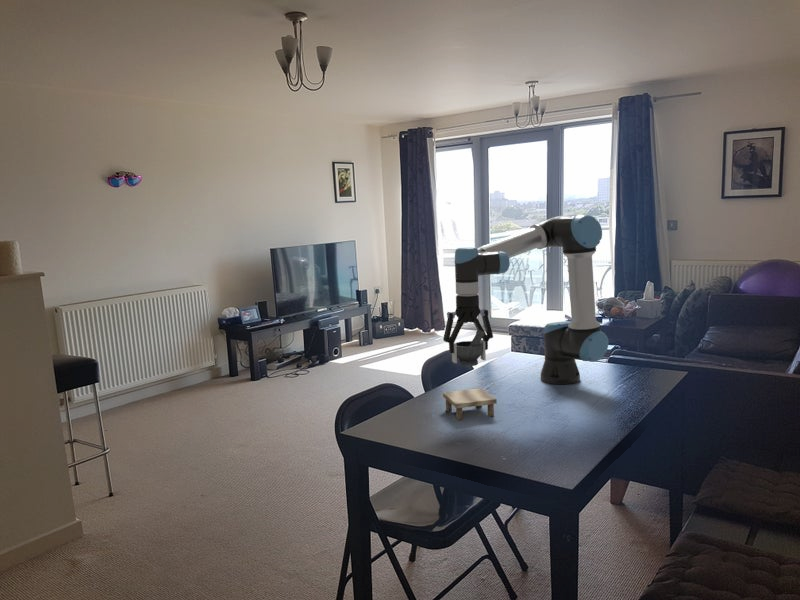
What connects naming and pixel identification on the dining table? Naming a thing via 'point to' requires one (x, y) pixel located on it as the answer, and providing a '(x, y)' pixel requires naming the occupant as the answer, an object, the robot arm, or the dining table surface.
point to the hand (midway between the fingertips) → (468, 360)
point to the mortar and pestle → (470, 350)
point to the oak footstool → (469, 400)
